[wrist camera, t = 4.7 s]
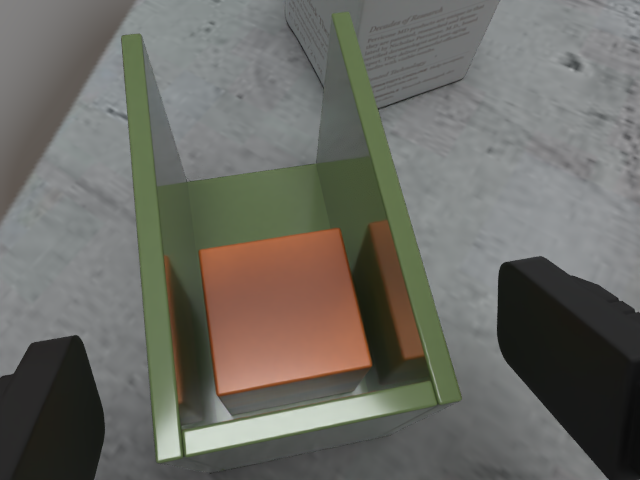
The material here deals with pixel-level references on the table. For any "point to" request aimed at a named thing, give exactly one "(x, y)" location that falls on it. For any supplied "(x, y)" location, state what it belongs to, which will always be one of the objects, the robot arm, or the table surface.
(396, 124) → the table surface
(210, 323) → the block
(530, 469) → the table surface
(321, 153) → the green storage bin
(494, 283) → the table surface
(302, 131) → the table surface
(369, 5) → the product box
